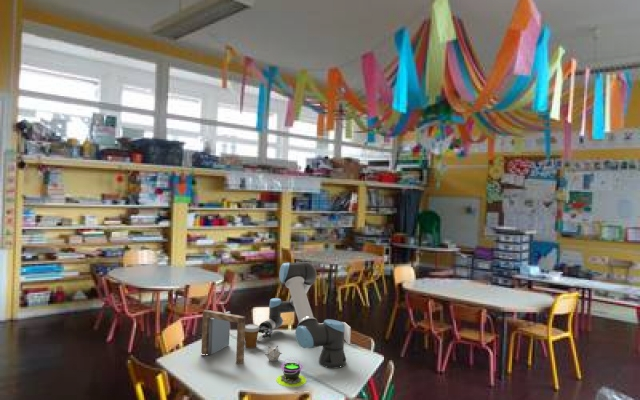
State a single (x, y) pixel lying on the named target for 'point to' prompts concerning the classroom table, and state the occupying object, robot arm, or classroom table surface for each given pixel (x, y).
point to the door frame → (227, 317)
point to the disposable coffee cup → (251, 335)
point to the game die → (273, 354)
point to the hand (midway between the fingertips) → (249, 336)
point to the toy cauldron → (291, 375)
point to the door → (218, 334)
